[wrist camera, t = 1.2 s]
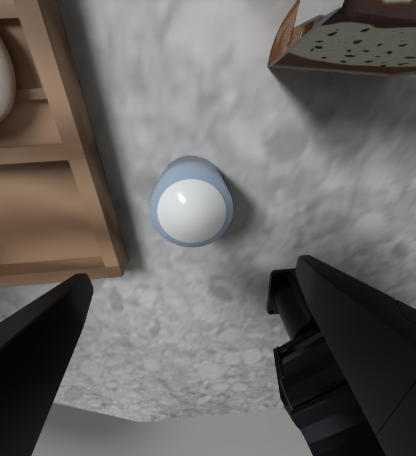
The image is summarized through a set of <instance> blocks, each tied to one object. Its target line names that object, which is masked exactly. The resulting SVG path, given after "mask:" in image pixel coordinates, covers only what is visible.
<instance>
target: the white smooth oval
mask: <svg viewBox="0 0 416 456" xmlns="http://www.w3.org/2000/svg"><path fill="white" fill-rule="evenodd" d="M15 95H16V77H15V72H14V67H13V64H12V61H11V58H10V55H9V53H8V51H7V48H6V46H5V44H4V42H3V41H2V39H1V37H0V122H1V121H2V120H3V119H5V118H6V116H7V115H8V114H9V113H10V111H11V109H12V107H13V104H14V101H15Z"/></svg>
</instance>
